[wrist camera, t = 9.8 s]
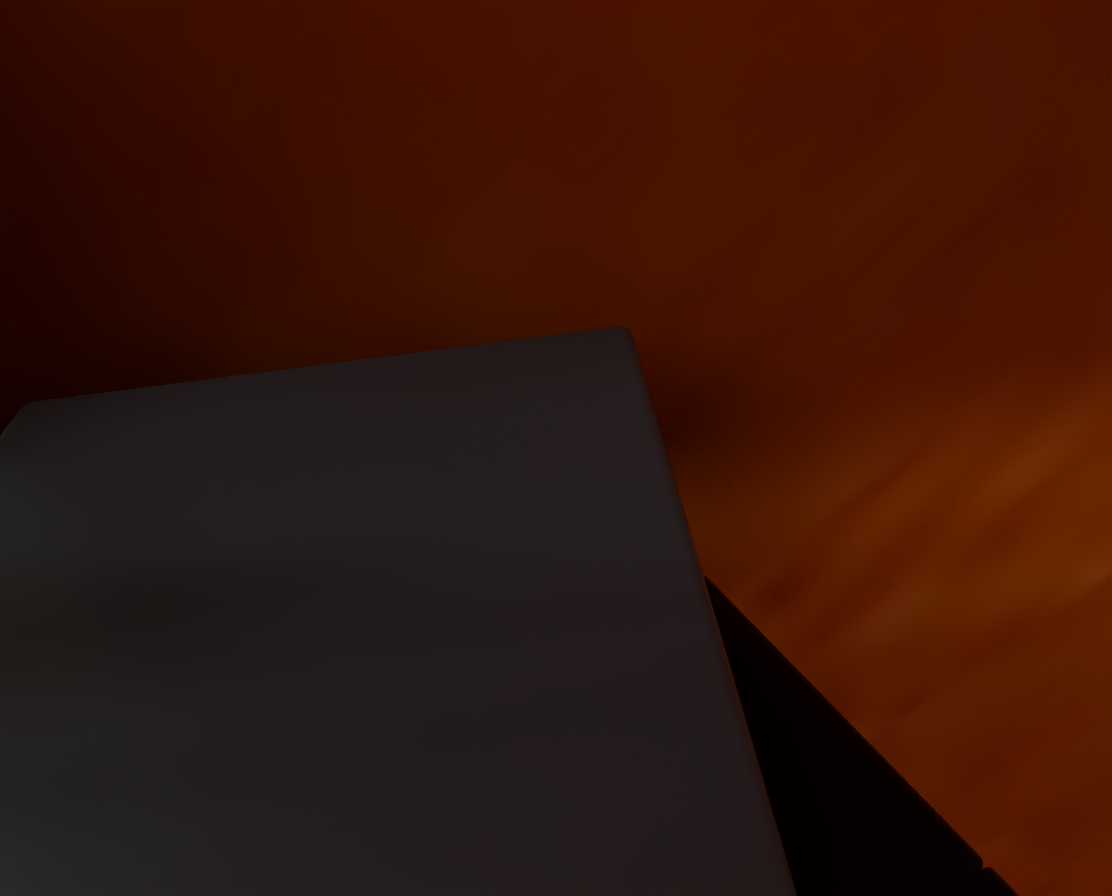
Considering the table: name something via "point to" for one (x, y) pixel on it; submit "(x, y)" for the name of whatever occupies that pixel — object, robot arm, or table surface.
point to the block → (368, 639)
